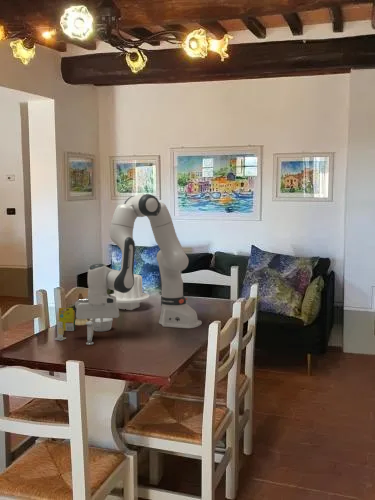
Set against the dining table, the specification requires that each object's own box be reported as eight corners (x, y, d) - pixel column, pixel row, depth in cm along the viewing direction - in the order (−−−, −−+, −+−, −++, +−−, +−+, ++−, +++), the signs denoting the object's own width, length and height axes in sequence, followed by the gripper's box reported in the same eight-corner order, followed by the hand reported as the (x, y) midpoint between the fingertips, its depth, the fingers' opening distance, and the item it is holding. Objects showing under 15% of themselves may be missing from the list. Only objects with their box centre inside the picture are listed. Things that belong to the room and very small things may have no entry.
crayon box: (75, 329, 272) (74, 306, 271) (73, 331, 269) (73, 308, 268) (60, 329, 273) (60, 306, 271) (59, 330, 270) (58, 307, 268)
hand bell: (86, 325, 280) (85, 295, 278) (70, 325, 281) (70, 294, 279) (92, 321, 288) (91, 292, 286) (77, 321, 289) (76, 291, 287)
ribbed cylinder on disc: (122, 301, 337) (121, 271, 335) (157, 305, 327) (157, 274, 324) (98, 309, 315) (97, 277, 313) (135, 314, 304) (135, 280, 302)
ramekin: (85, 329, 273) (85, 318, 273) (104, 325, 281) (104, 315, 280) (98, 333, 265) (97, 323, 265) (117, 329, 273) (116, 319, 272)
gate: (93, 342, 246) (92, 323, 245) (85, 342, 246) (85, 323, 245) (95, 333, 262) (94, 315, 261) (88, 333, 262) (88, 315, 260)
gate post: (95, 343, 249) (94, 324, 248) (90, 345, 246) (90, 326, 245) (89, 342, 250) (88, 324, 249) (84, 344, 247) (84, 325, 246)
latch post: (68, 338, 256) (68, 322, 255) (62, 341, 252) (62, 324, 251) (59, 337, 258) (59, 320, 257) (53, 339, 254) (53, 322, 253)
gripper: (74, 300, 252) (75, 329, 254) (119, 299, 255) (119, 328, 256) (75, 297, 258) (76, 326, 260) (118, 296, 261) (119, 324, 263)
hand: (98, 327), depth 258 cm, fingers closed
